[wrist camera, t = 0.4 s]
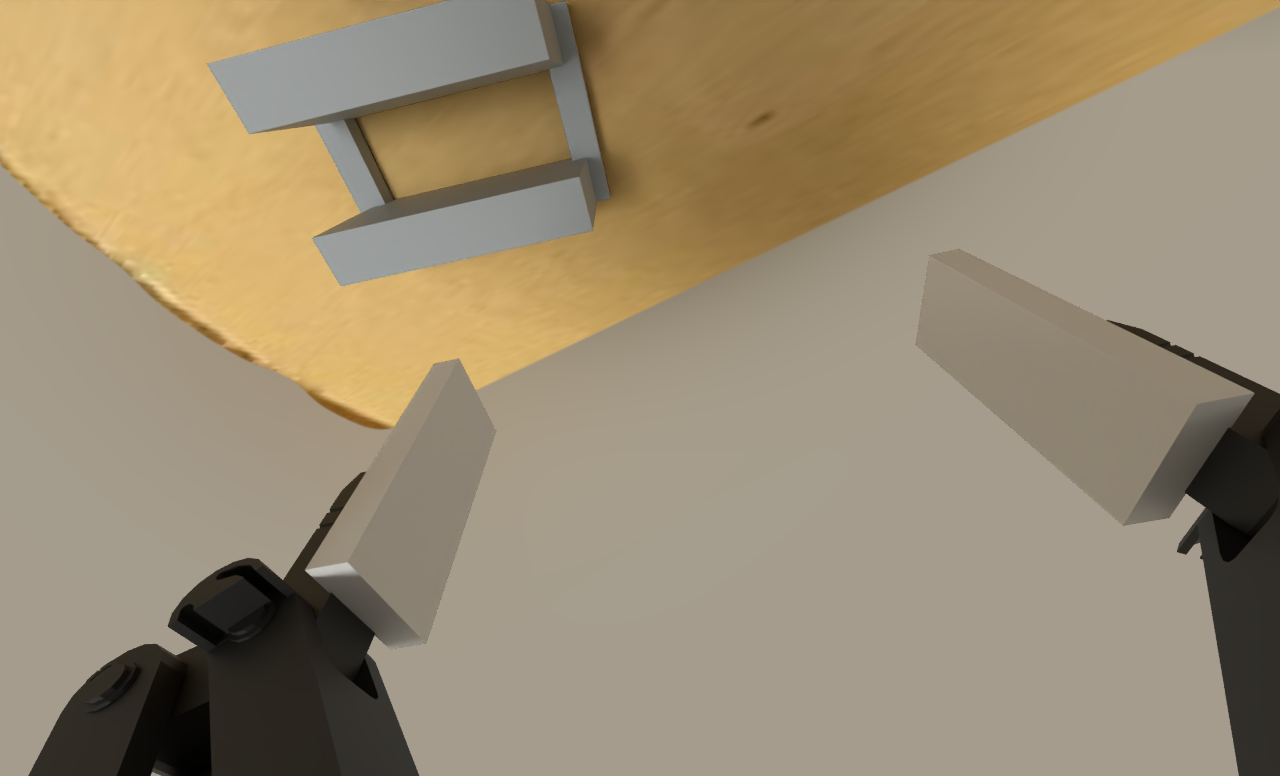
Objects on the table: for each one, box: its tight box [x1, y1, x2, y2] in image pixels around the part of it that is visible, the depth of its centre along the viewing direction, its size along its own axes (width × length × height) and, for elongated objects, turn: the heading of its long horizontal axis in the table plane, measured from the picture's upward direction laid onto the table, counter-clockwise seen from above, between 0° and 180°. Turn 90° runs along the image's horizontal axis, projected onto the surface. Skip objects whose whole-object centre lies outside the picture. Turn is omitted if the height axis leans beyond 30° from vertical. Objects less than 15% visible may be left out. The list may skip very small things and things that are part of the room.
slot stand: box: [207, 0, 610, 286], centre depth 28 cm, size 11×18×10 cm, turn 101°
